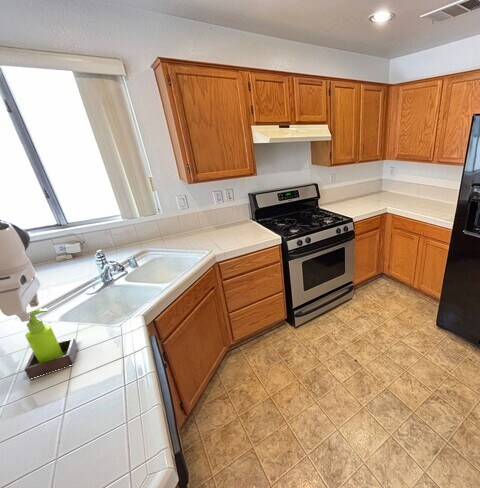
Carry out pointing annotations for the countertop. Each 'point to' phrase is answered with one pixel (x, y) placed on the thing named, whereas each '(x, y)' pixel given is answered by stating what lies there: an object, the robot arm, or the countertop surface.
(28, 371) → the tray
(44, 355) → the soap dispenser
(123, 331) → the countertop surface
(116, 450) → the countertop surface
